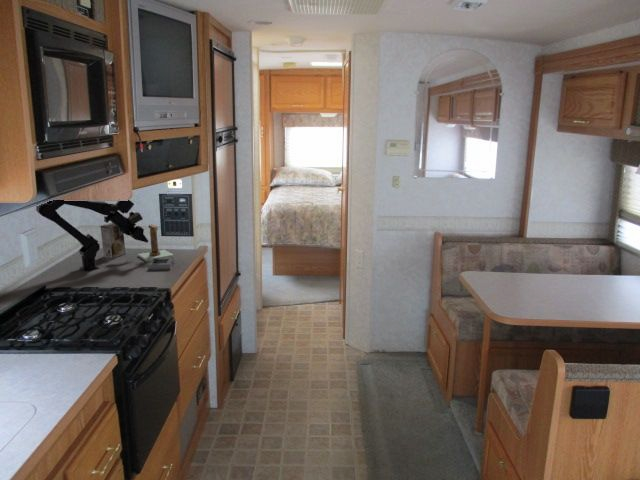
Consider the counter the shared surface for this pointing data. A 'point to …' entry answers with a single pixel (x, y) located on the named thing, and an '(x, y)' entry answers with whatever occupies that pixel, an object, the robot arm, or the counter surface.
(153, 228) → the brown wooden column
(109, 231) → the coffee box
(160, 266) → the lock plate
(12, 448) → the counter surface
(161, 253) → the pale green flat slab
